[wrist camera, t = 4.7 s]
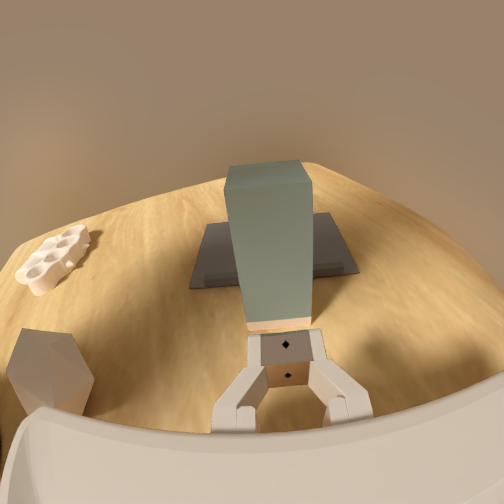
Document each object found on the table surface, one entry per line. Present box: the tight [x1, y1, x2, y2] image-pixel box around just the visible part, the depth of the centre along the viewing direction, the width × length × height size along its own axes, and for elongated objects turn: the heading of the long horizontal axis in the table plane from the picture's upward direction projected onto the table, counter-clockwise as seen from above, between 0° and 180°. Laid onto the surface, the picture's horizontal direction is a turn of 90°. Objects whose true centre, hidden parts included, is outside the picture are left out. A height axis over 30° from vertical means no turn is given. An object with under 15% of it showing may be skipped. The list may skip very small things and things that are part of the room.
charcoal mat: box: [189, 213, 360, 289], centre depth 38 cm, size 20×16×1 cm
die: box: [6, 328, 95, 416], centre depth 18 cm, size 8×9×10 cm
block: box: [224, 160, 313, 331], centre depth 25 cm, size 6×6×14 cm
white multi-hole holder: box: [15, 224, 91, 296], centre depth 41 cm, size 3×18×15 cm
